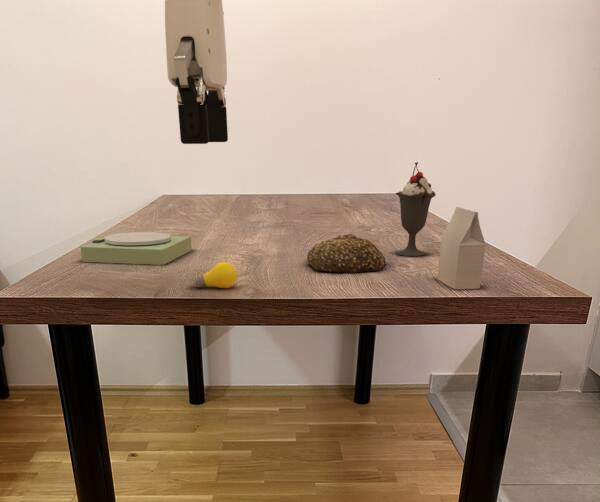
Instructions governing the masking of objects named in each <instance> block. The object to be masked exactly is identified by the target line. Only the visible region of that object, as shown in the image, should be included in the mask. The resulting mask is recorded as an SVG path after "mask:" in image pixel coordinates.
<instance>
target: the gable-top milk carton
mask: <svg viewBox="0 0 600 502" xmlns="http://www.w3.org/2000/svg"><path fill="white" fill-rule="evenodd" d="M480 224H481V223H480V220H479V211H478V212H477V211H475V210H471V209H467V208H464V207H460V206H456V207H455V209H454V212H453V214H452V216H451V218H450V221H448V224H447V226H446V228H445V230H444V231H443V233H442V235H441V237H440V245H439V246H440V247H439V256H438V264H437V265H438V266H437V275H436V276H437V277H436V280H438V281H439V282H441V283H443V284H445V285H446V286H448V287H450V288H451V289H453V290H475V289H478V290H479V289H481V284H482V283H481V282H482V276H483V266H484V259H485V252H486V251H485V250H486V242H485V238H484V235H483V232H482V228H481V225H480Z"/></svg>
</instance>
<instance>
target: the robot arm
mask: <svg viewBox="0 0 600 502" xmlns="http://www.w3.org/2000/svg"><path fill="white" fill-rule="evenodd" d="M223 6H224V5H223V0H164V26H165V27H164V29H165V51H166V52H165V53H166V54H165V55H166V70H167V71H166V72H167V73H166V74H167V79H168V82H169V83H170V84H171V85H172V86H174V87H175V88H177V91H176V101H177V111H178V123H179V124H178V125H179V137H180V143H181V144H182V145H207V144H209V143H227V142H228V141H229V133H228V132H229V131H228V114H227V100H226V95H225V86H226V85H227V84H228V83H227V80H228V64H227V63H228V62H227V45H226V32H225V19H224V13H225V12H224V7H223Z"/></svg>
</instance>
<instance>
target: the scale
mask: <svg viewBox="0 0 600 502" xmlns="http://www.w3.org/2000/svg"><path fill="white" fill-rule="evenodd" d="M192 250H193V248H192V237H191V236H179V235H171V234H169V233H165V232H157V231H156V232H155V231H132V232H130V231H129V232H118V233H113V234H109V235H106V236H103V237H100V238H97V239H94V240H91V243H87V244H85V245H84V244H83V245H81V246H80V253H81V260H82V262H83V263H103V264H104V263H105V264H107V263H108V264H127V265H130V264H132V265H155V266H157V265H158V266H165V265H167V264H168V263H170V262H172V261H174V260H176V259H178V258H180V257H182V256H184V255H185V254H187V253H190V252H191V251H192Z"/></svg>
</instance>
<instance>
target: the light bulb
mask: <svg viewBox="0 0 600 502" xmlns="http://www.w3.org/2000/svg"><path fill="white" fill-rule="evenodd" d="M237 279H238V273H237V269H236V267H235V266H234V264H232V263H230V262H228V261H220V262H218V263H216V264H215V265H214V266H213V267H212V268H211V269H210V270H209V271H207V272H205V273H204V275H202V276H198V277H196V279H195V281H194V285H195V287H198V288H199V289H200V288H203V287H208V288H212V287H214V288H219V289H229V288H231V287H232V286H234V285H235V283H236V281H237Z"/></svg>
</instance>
